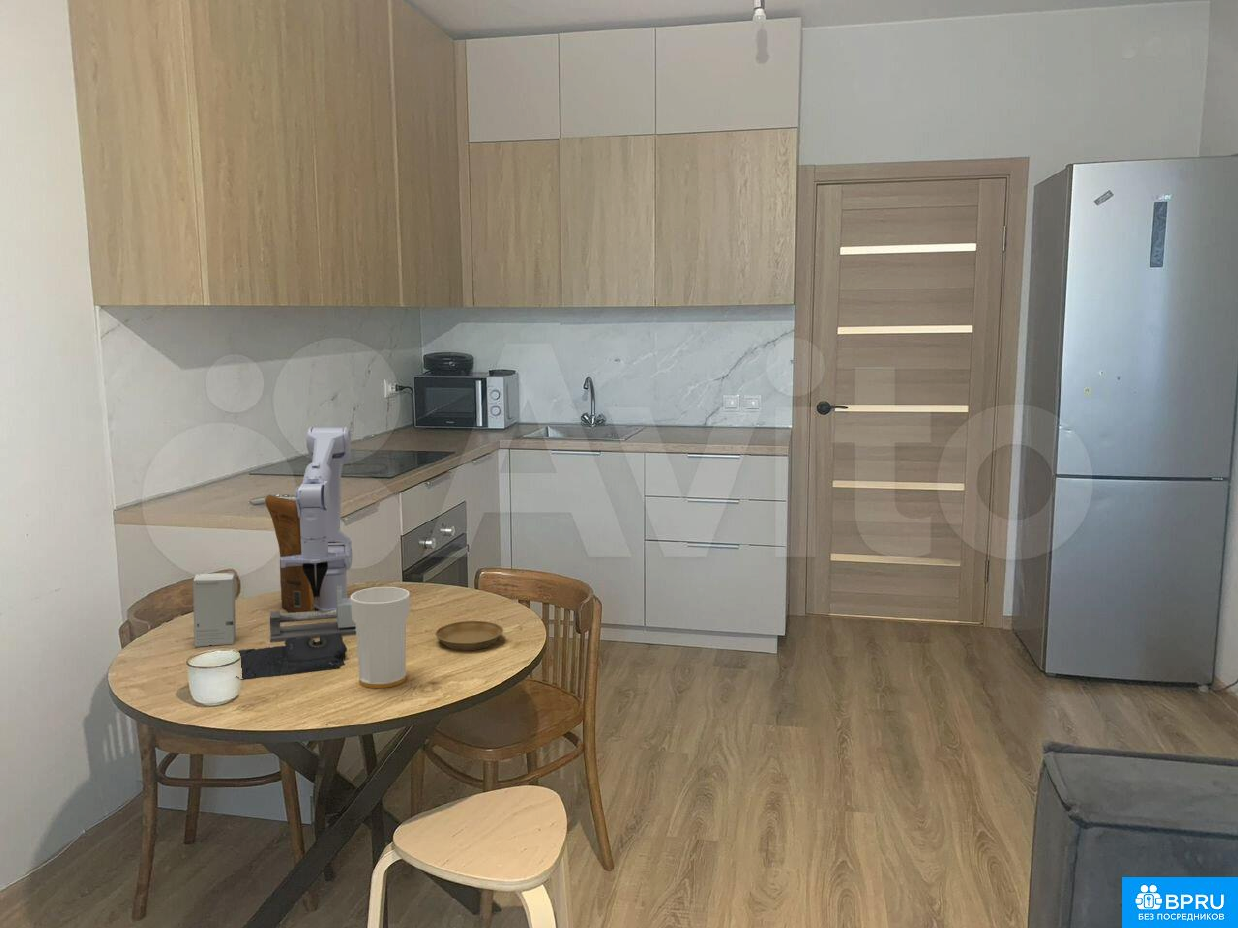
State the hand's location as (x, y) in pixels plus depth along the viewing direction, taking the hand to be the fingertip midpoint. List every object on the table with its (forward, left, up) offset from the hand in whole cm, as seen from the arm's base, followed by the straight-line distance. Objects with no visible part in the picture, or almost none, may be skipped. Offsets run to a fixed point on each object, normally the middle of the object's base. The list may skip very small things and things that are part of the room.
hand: (316, 595), depth 215 cm
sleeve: (+3, +5, -7) cm, 9 cm away
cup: (+35, -6, -9) cm, 36 cm away
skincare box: (-10, -18, -9) cm, 23 cm away
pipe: (+2, +3, -8) cm, 9 cm away
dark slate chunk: (+13, -14, -9) cm, 21 cm away
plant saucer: (+30, +20, -9) cm, 37 cm away
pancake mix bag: (-19, +5, -9) cm, 21 cm away
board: (+2, +3, -8) cm, 9 cm away
